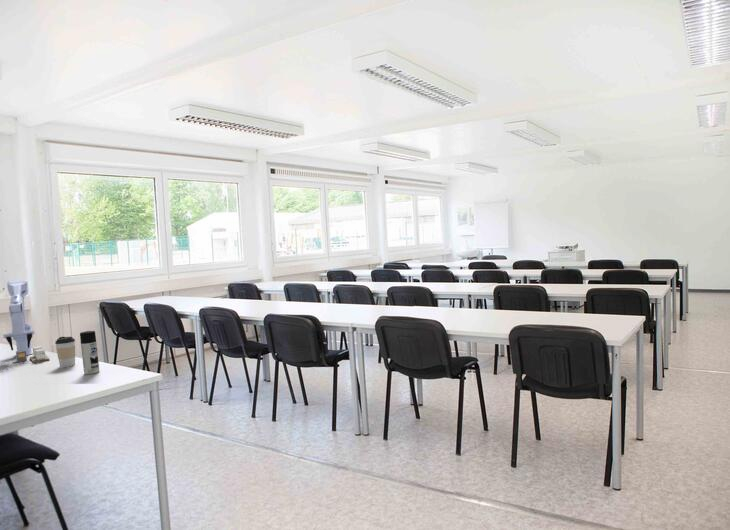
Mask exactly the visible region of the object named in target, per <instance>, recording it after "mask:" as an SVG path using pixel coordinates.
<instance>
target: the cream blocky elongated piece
mask: <svg viewBox="0 0 730 530" xmlns="http://www.w3.org/2000/svg"><path fill="white" fill-rule="evenodd" d="M32 353H33V354H32V355H33V356H29V359H30V361H31V360H32V361H31V362H32V363H33V364H36V363H37V362H38V363H42V361H43V362H48V360H49V361H50V358H49V357H48V356H47V354H46V350H45V349H44V348H43V346H42V345H40V346H32Z"/></svg>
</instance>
